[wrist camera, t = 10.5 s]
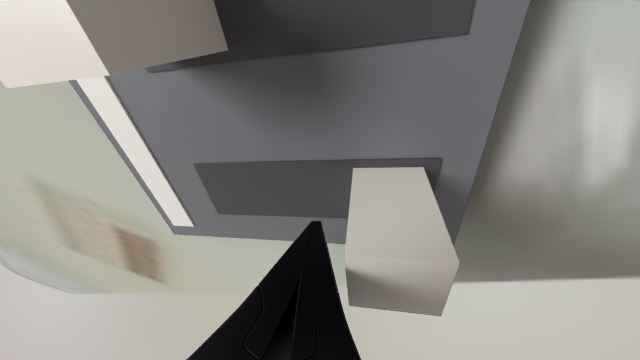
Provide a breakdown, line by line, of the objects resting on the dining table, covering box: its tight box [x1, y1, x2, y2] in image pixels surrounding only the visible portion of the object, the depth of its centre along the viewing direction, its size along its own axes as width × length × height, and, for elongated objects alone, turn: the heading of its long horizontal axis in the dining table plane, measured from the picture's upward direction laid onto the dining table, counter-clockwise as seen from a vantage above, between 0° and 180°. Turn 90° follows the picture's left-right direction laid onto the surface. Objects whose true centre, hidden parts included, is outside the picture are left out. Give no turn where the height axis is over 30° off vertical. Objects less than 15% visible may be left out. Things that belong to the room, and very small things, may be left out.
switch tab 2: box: [344, 167, 460, 316], centre depth 9 cm, size 3×3×5 cm
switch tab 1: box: [0, 0, 228, 88], centre depth 6 cm, size 3×3×5 cm
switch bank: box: [69, 0, 530, 246], centre depth 11 cm, size 18×16×2 cm
